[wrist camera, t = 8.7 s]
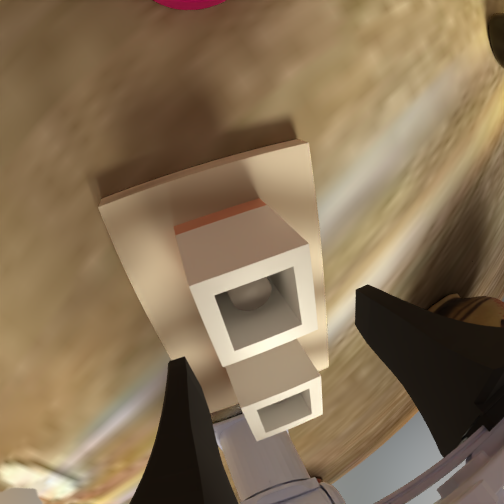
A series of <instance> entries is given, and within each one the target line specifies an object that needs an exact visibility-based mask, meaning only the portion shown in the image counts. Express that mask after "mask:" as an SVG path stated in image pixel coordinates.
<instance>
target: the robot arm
mask: <svg viewBox="0 0 504 504" xmlns="http://www.w3.org/2000/svg"><path fill="white" fill-rule="evenodd" d="M355 325H356V327H357V329H358V330H359V332H360V333H361V335H362V336H363V338H364V339H365V341H366V342H367V344H368V345H369V346H370V347H371V348H372V350H373V351H374V352H375V353H376V354H377V355H378V356H379V358H380V359H381V360H382V361H383V362H384V363H385V364H386V366H387V367H388V368H389V369H390V370H391V371H392V373H393V374H394V375H395V376H396V377H397V378H398V380H399V381H400V382H401V384H402V385H403V386H404V388H405V389H406V391H407V392H408V394H409V395H410V397H411V398H412V400H413V402H414V403H415V405H416V407H417V408H418V410H419V411H420V413H421V415H422V416H423V418H424V420H425V422H426V424H427V426H428V428H429V430H430V432H431V434H432V436H433V438H434V440H435V442H436V444H437V446H438V449H439V451H440V453H441V455H442V456H443V457H444V458H443V459H442V460H441V461H439V462H438V463H436V464H435V465H434V466H432V467H431V468H430V469H428V470H427V471H426V472H424V473H423V474H421V475H420V476H418V477H417V478H415V479H414V480H412V481H411V482H409V483H408V484H406V485H404V486H403V487H401V488H400V489H398V490H396V491H395V492H393V493H392V494H390V495H388V496H386V497H385V498H383V499H381V500H380V501H378V502H376V503H374V504H405V503H407V502H408V501H410V500H411V499H413V498H414V497H416V496H418V495H419V494H420V493H422V492H423V491H425V490H426V489H428V488H429V487H430V486H432V485H433V484H435V483H436V482H437V481H439V480H440V479H441V478H443V477H444V476H445V475H446V474H448V473H449V472H450V471H452V470H453V469H454V468H455V467H457V466H458V465H459V464H460V463H462V462H463V461H464V460H465V459H466V458H467V459H466V465H465V466H463V467H462V468H461V469H460V470H459V471H458V472H456V473H455V474H454V475H453V476H452V477H451V478H450V479H449V480H448V481H446V482H445V483H444V484H443V485H441V486H440V487H439V488H438V489H437V491H438V492H439V494H440V495H441V499H440V500H438V501H437V502H435V503H434V504H504V489H503V488H502V487H503V486H504V327H494V326H485V325H478V324H473V323H468V322H463V321H459V320H455V319H452V318H448V317H445V316H441V315H438V314H436V313H433V312H430V311H427V310H425V309H422V308H420V307H417V306H415V305H412V304H410V303H408V302H406V301H403V300H401V299H399V298H397V297H395V296H392V295H390V294H388V293H386V292H384V291H382V290H379V289H377V288H375V287H373V286H370V285H365V286H363V287H361V288H359V289H357V290H356V311H355ZM217 444H218V445H217ZM218 446H219V447H220V448H221V450H222V451H223V453H224V456H225V459H226V461H227V464H228V467H229V470H230V473H231V476H232V479H233V481H234V484H235V487H236V490H237V492H238V495H239V498H240V500H241V502H240V504H346V503H345V501H344V500H343V498H342V496H341V495H340V493H339V492H338V490H337V489H336V488H335V487H334V486H332V485H330V484H327V483H326V482H321V483H318V481H317V479H316V477H313V478H310V476H309V474H308V472H307V470H306V468H305V466H304V464H303V462H302V460H301V458H300V456H299V454H298V452H297V451H296V449H295V447H294V445H293V443H292V441H291V439H290V437H289V433H288V430H285V431H283V432H280V433H278V434H275V435H273V436H270V437H267V438H265V439H262V440H259V441H256V439H255V437H254V435H253V433H252V431H251V429H250V427H249V424H248V422H247V420H246V418H245V416H244V414H241V415H238V416H236V417H233V418H230V419H227V420H224V421H221V422H218V423H215V424H212V420H211V416H210V411H209V408H208V405H207V402H206V399H205V396H204V393H203V390H202V387H201V385H200V383H199V381H198V380H197V378H196V376H195V374H194V372H193V371H192V369H191V367H190V365H189V363H188V361H187V359H186V358H185V356H184V357H181V358H178V359H175V360H172V361H170V362H169V363H168V374H167V383H166V391H165V397H164V403H163V409H162V414H161V418H160V423H159V427H158V432H157V435H156V439H155V443H154V446H153V449H152V452H151V455H150V458H149V461H148V464H147V466H146V469H145V472H144V474H143V477H142V479H141V481H140V483H139V485H138V487H137V490H136V492H135V494H134V496H133V498H132V500H131V502H130V504H238V502H237V499H236V497H235V495H234V492H233V490H232V487H231V485H230V482H229V480H228V477H227V475H226V472H225V470H224V467H223V464H222V461H221V457H220V454H219V450H218Z"/></svg>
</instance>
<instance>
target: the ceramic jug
mask: <svg viewBox="0 0 504 504" xmlns="http://www.w3.org/2000/svg"><path fill="white" fill-rule="evenodd" d="M472 262H473V261H472ZM428 311H430V312H433V313H436V314H438V315H441V316H445V317H448V318H452V319H455V320H459V321H463V322H468V323H473V324H478V325H485V326H494V327H504V302H502V301H500V300H498V299H496V298H492V297H487V296H479V297H472V298H465V299H462V298H461V297H459V295H458V293H457V294H451V295H448V296H446V297H445V298H443V299H442V300H440V301H439V302H437V303H436V304H434V305H433V306H432V307H431V308H429V309H428Z"/></svg>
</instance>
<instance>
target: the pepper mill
mask: <svg viewBox="0 0 504 504" xmlns="http://www.w3.org/2000/svg"><path fill="white" fill-rule="evenodd" d="M153 1H155V2H157V3H159V4H161V5H164V6H167V7H170V8H174V9H180V10H198V9H204V8H208V7H211V6H214V5H218V4H220V3H222V2H224V1H226V0H153Z"/></svg>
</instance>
